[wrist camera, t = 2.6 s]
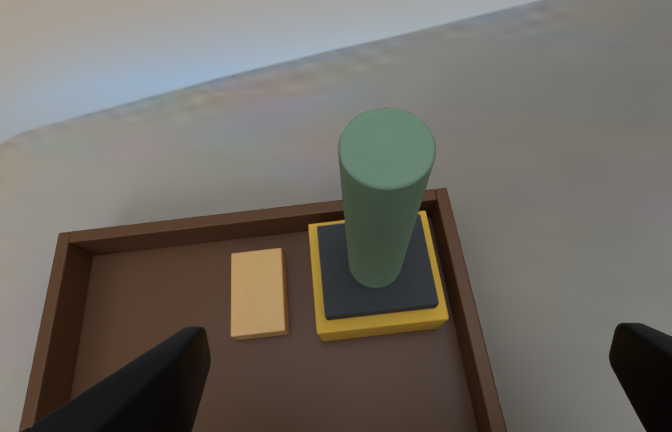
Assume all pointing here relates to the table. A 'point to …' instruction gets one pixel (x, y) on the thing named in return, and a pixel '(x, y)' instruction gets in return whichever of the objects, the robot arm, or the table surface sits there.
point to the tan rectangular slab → (259, 294)
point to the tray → (259, 353)
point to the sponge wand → (379, 234)
